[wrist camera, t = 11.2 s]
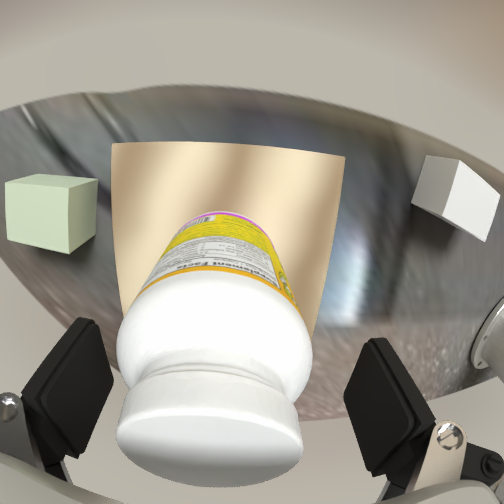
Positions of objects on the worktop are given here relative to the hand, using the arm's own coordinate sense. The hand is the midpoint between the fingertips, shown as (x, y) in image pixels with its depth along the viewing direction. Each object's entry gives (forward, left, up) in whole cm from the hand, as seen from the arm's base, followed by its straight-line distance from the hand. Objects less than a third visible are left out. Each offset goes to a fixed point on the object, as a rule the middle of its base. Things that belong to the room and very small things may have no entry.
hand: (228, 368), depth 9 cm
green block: (+13, -3, -11) cm, 17 cm away
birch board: (+1, 0, -11) cm, 11 cm away
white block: (-16, -6, -11) cm, 20 cm away
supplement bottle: (+1, 0, -9) cm, 9 cm away
